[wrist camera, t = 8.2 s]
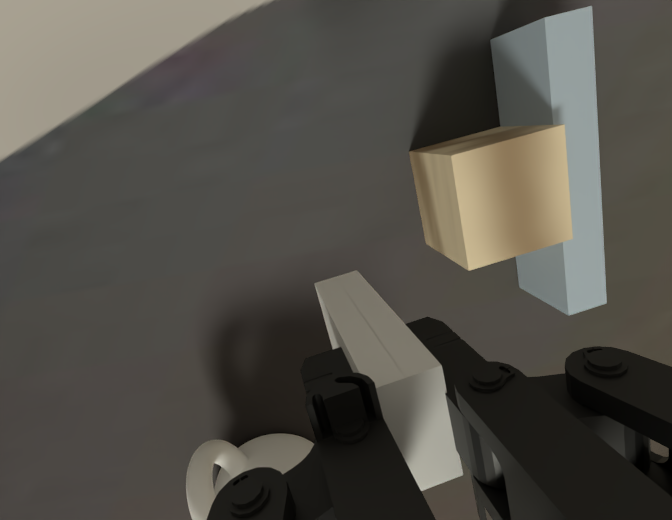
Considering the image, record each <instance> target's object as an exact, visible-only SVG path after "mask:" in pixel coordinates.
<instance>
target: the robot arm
mask: <svg viewBox="0 0 672 520" xmlns="http://www.w3.org/2000/svg"><path fill="white" fill-rule="evenodd" d="M314 284H315V288H316V291H317V295H318V299H319V302H320V306H321V309H322V313H323V316H324V320H325V323H326V327H327V331H328V334H329V338H330V341H331V345H332V348H333V350H330V351H327V352H324V353H321V354H318V355H315V356H312V357H309V358H306V359H305V361H304V364H303V366H302V369H301V374H302V378H303V382H304V386H305V390H306V394H307V397H306V409H307V412H308V415H309V418H310V421H311V425H312V428H313V431H314V434H315V437H316V439H315V443H314V446H313V447H312V449H311V451H310V453H309V454H308V455H307V456H306V457H305V458H304V459H303V460H302V461H301V462H300V463H299V464H297V465H296V466H295V467H293V468H292V469H290V470H289V471H287V472H286V473H284V474H282V473H281V472H280V471H278V470H276V469H273V468H271V467H257V468H254V469H251V470H248V471H244V472H242V473H241V474H239V475H237V476H236V477H234V478H233V479H231V480H230V481H229V482H228V483H227V484H226V485H225V486H224V487H223V488H222V489H221V490H220V491H219V492H218V494H217V496H216V498H215V500H214V501H213V503H212V505H211V508H210V511H209V514H208V517H207V520H436V519H435V517H434V515H433V513H432V512H431V510H430V508H429V506H428V504H427V502H426V500H425V498H424V496H423V494H422V492H421V491H423V490H425V489H428V488H430V487H433V486H436V485H438V484H441V483H443V482H446V481H449V480H451V479H454V478H456V477H459V476H462V475H463V472H462V467H461V461H460V456H461V458H462V459H463V461H464V462H465V464H466V465H467V467H468V468H469V469H470V472H471V478H472V483H473V488H474V494H475V499H476V504H477V510H478V514H479V517H480V519H481V520H487V519H486V513H485V508H486V510H487V511H488V513H489V514H490V516H491V517H492V519H493V520H672V367H670V366H667V365H665V364H662V363H659V362H656V361H654V360H651V359H648V358H645V357H642V356H640V355H637V354H634V353H631V352H629V351H625V350H621V349H617V348H613V347H600V346H597V347H589V348H583V349H580V350H578V351H575V352H573V353H571V354H570V355H569V356H568V357H567V358H566V362H565V374H557V375H548V376H540V377H526V376H525V375H524V374H523V373H522V372H520V371H519V370H518V369H516V368H514V367H512V366H511V365H509V364H504V363H500V362H487V361H486V360H485V359H484V358H483V357H481V356H480V355H479V354H478V353H477V352H476V351H475V350H474V349H473V348H471V347H470V346H469V345H468V344H467V343H466V342H465V341H464V340H461V339H460V337H459V336H458V335H457V334H456V333H455V332H453V331H452V330H451V329H450V328H449V327H448V326H447V325H446V324H445V323H443V322H442V321H439V320H436V319H433V318H430V317H425V318H422V319H419V320H416V321H413V322H410V323H407V324H404V322H403V321H402V320H401V319H400V318H399V317H398V316H397V315H396V314H395V312H394V311H393V310H392V309H391V308H390V307H389V306H388V305H387V303H386V302H385V301H384V300H383V299H382V298H381V297H380V296H379V295H378V293H377V292H376V291H375V290H374V289H373V288H372V287H371V286H370V284H369V283H368V282H367V281H366V280H365V279H364V278H363V277H362V276H361V274H360V273H359V272H358V271H357V270H356V271H353V272H350V273H346V274H343V275H340V276H337V277H333V278H330V279H327V280H324V281H320V282H317V283H314ZM650 439H652V440H654V441H656V442H658V443H660V444H662V445H664V446H666V447H667V448H669V457H663V456H660V455H658V454H655V453H654V452H652V451H651V450H650ZM459 455H460V456H459ZM484 507H485V508H484Z"/></svg>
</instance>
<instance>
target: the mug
mask: <svg viewBox="0 0 672 520" xmlns="http://www.w3.org/2000/svg"><path fill="white" fill-rule="evenodd" d="M313 446H314V443H312V442H311V441H309V440H307V439H305V438H303V437H300V436H297V435H293V434H285V433H277V434H268V435H264V436H260V437H257V438H254V439H252V440H250V441H248V442H246V443H245V444H243V445H241V446H240V447H239V448H237V447H236V446H234V445H232V444H231V443H229V442H227V441H224V440H209V441H207V442H205V443H203V444H201V445H200V446H199V448H198V449H197V450H196V451H195V452H194V454H193V456H192V457H191V460H190V463H189V466H188V469H187V476H186V493H187V501H188V506H189V510H190V514H191V517H192V520H207V517H208V514H209V511H210V508H211V505H212V503H213V501H214V500H215V498H216V496H217V494H218V492H219V491H220V490H221V489H222V488H223V487H224V486H225V485H226V484H227V483H228V482H229V481H230V480H231V479H233V478H234V477H236V476H237V475H239V474H241V473H242V472H244V471H248V470H251V469H254V468H257V467H271V468H273V469H276V470H278V471H280V472H281V473H282V474H284V473H286V472H287V471H289V470H290V469H292V468H293V467H295V466H296V465H297V464H299V463H300V462H301V461H302V460H303V459H304V458H305V457H306V456H307V455H308V454H309V453H310V451H311V449H312V447H313ZM214 463H215V464H218V465H220V466H221V469H220V471H219V474H218V476H217V479H216V484H215V488H213V482H212V470H213V465H214Z"/></svg>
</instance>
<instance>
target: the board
mask: <svg viewBox="0 0 672 520" xmlns="http://www.w3.org/2000/svg"><path fill="white" fill-rule="evenodd" d="M490 43H491V51H492V60H493V68H494V77H495V85H496V94H497V102H498V111H499V119H500V127H505V126H532V125H559V124H565V136H566V149H567V163H568V177H569V191H570V205H571V219H572V233H573V239H571V240H568V241H565V242H561V243H558V244H555V245H551V246H548V247H545V248H542V249H538V250H535V251H532V252H529V253H525V254H522V255H519V256H516V263H517V271H518V280H519V287H520V288H521V289H523V290H525V291H527V292H528V293H530V294H532V295H534V296H535V297H537V298H539V299H541V300H542V301H544V302H546V303H548V304H549V305H551V306H553V307H555V308H556V309H558V310H560V311H562V312H563V313H565V314H567V315H568V316H569V315H572V314H575V313H578V312H581V311H584V310H587V309H591V308H594V307H597V306H600V305H603V304H606V303H607V300H606V280H605V260H604V239H603V219H602V199H601V179H600V158H599V138H598V118H597V98H596V77H595V57H594V37H593V17H592V6H589V7H585V8H581V9H577V10H573V11H569V12H565V13H561V14H557V15H553V16H549V17H545V18H542V19H540V20H537V21H535V22H532V23H530V24H528V25H525V26H523V27H520V28H518V29H515V30H513V31H511V32H508V33H506V34H503V35H501V36H498V37H496V38H493V39H491V40H490Z"/></svg>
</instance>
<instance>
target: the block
mask: <svg viewBox="0 0 672 520" xmlns="http://www.w3.org/2000/svg"><path fill="white" fill-rule="evenodd" d="M409 154H410V160H411V165H412V171H413V176H414V181H415V187H416V192H417V197H418V203H419V208H420V214H421V219H422V224H423V230H424V235H425V240H426V244H427V245H429V246H430V247H432V248H434V249H435V250H437V251H438V252H440V253H442V254H443V255H445V256H446V257H448V258H449V259H451V260H453V261H454V262H456V263H457V264H459V265H461V266H462V267H464V268H465V269H467V270H468V271H470V270H473V269H476V268H479V267H483V266H486V265H489V264H493V263H496V262H499V261H502V260H506V259H509V258H512V257H515V256H519V255H522V254H525V253H529V252H532V251H535V250H538V249H542V248H545V247H548V246H551V245H555V244H558V243H561V242H565V241H568V240H571V239H573V233H572V219H571V205H570V191H569V177H568V163H567V149H566V136H565V124H559V125H532V126H505V127H497V128H493V129H489V130H486V131H482V132H478V133H475V134H471V135H467V136H464V137H460V138H456V139H453V140H449V141H445V142H442V143H438V144H434V145H431V146H427V147H423V148H420V149H416V150H412V151H409Z"/></svg>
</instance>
